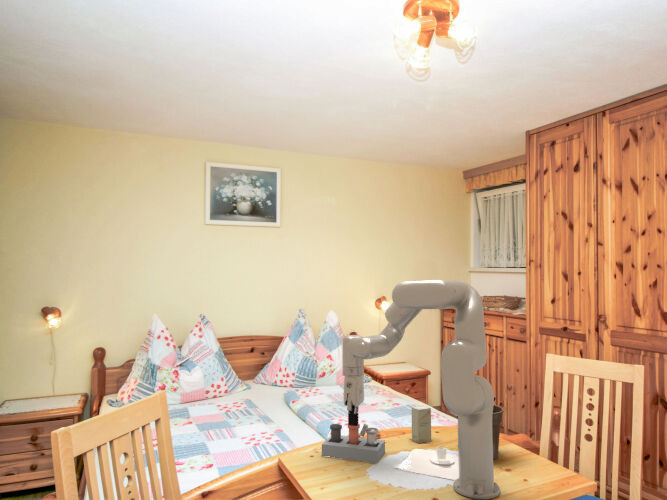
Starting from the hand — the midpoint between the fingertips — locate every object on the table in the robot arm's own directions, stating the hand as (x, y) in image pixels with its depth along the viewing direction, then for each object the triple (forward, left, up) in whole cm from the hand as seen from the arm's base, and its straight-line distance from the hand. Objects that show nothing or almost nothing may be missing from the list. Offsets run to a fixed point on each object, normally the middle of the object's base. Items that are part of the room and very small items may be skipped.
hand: (353, 424), depth 160 cm
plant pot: (+13, -41, -10) cm, 45 cm away
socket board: (0, 0, -10) cm, 10 cm away
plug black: (0, +6, -9) cm, 11 cm away
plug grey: (0, -7, -9) cm, 11 cm away
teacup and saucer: (0, -28, -10) cm, 29 cm away
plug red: (0, 0, -8) cm, 8 cm away
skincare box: (+22, -20, -10) cm, 31 cm away
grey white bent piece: (+8, 0, -10) cm, 13 cm away
